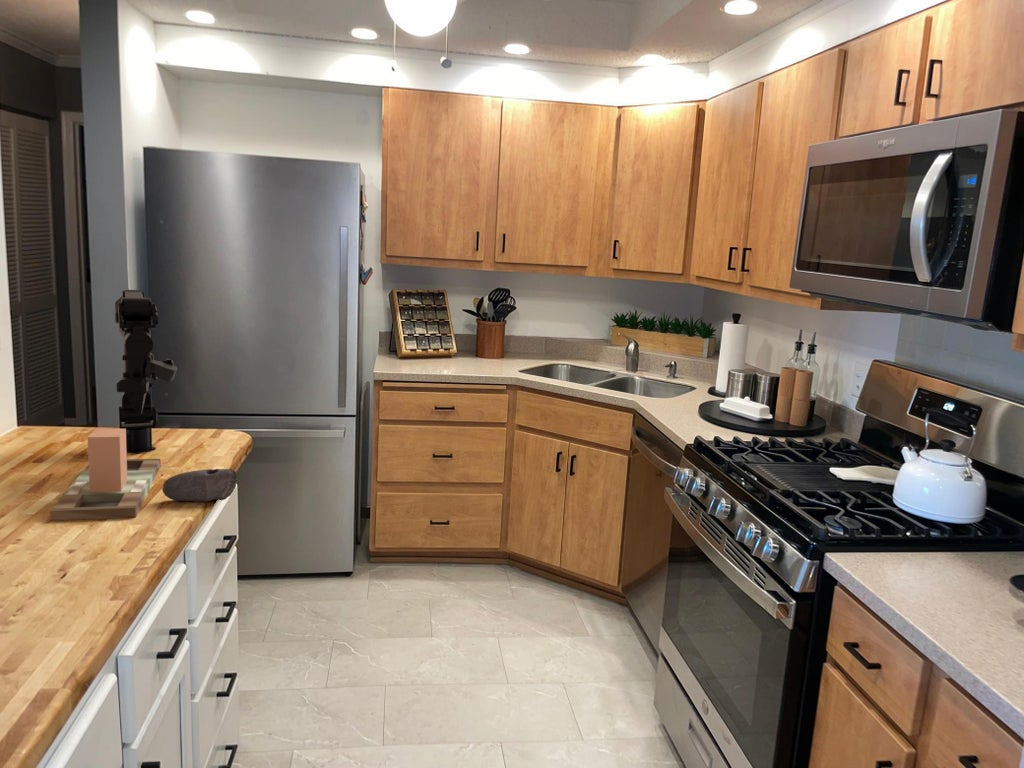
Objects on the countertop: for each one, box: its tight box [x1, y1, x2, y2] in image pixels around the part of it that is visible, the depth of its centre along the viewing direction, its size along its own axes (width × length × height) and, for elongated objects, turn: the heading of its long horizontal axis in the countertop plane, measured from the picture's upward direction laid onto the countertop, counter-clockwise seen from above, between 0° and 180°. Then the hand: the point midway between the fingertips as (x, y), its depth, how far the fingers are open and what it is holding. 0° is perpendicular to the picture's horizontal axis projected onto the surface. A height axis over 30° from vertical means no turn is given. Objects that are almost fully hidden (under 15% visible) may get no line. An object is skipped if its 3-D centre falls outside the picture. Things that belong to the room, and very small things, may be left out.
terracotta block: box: [87, 428, 128, 492], centre depth 162 cm, size 7×6×12 cm
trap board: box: [50, 458, 162, 522], centre depth 166 cm, size 35×15×2 cm, turn 17°
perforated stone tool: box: [161, 468, 238, 503], centre depth 164 cm, size 15×5×7 cm, turn 104°
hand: (139, 414), depth 182 cm, fingers closed
